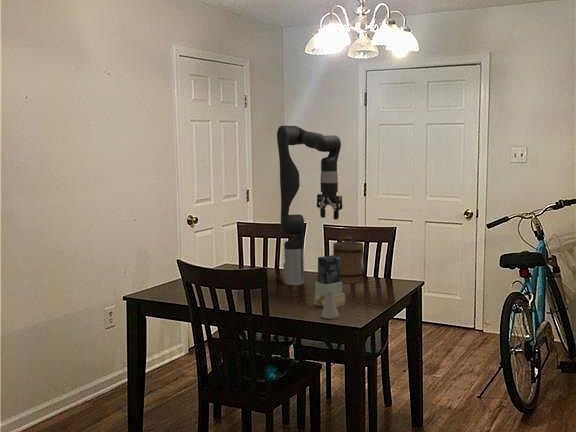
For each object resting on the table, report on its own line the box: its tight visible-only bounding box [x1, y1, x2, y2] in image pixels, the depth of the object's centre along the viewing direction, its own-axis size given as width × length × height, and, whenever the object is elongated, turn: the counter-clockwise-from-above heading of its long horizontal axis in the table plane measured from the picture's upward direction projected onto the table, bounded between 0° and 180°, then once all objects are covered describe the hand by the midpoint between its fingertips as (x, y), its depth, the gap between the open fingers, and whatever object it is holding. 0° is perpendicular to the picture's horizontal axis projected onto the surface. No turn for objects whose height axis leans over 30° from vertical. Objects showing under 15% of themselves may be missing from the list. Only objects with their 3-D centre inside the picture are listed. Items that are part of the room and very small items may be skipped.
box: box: [317, 254, 340, 284], centre depth 270 cm, size 8×6×11 cm
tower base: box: [313, 292, 346, 308], centre depth 272 cm, size 9×9×5 cm
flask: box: [320, 291, 340, 320], centre depth 253 cm, size 7×7×10 cm
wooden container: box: [332, 235, 365, 284], centre depth 316 cm, size 15×15×22 cm
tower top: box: [314, 280, 343, 296], centre depth 271 cm, size 8×8×5 cm
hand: (329, 218), depth 285 cm, fingers open, 8 cm apart
